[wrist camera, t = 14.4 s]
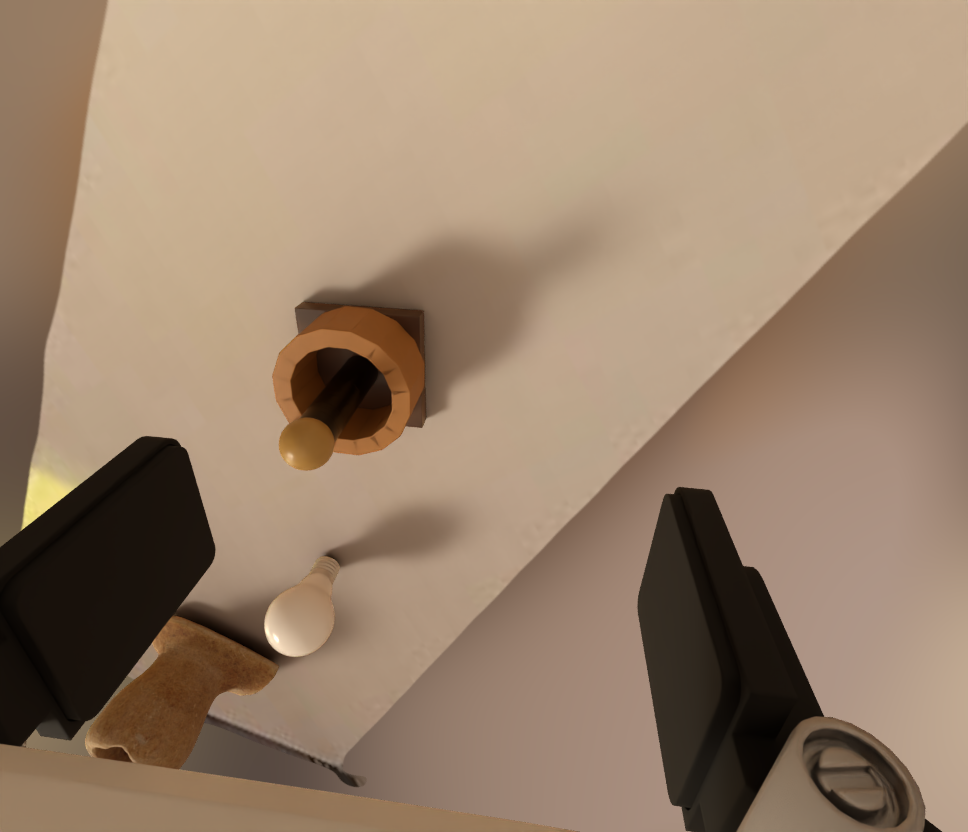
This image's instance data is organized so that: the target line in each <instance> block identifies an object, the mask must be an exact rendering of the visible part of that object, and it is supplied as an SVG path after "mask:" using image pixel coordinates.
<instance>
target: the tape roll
mask: <svg viewBox="0 0 968 832" xmlns="http://www.w3.org/2000/svg"><path fill="white" fill-rule="evenodd" d="M326 347H332V348H342V349H349V350H351V351H353V352H355V353H357V354H359V355H361V356H363V357H365V358H367V359H369V360H370V361H371V362H372V363H373V364H374V365H375V366H376V367H377V368H378V369H379V370H380V371H381V372H382V373H383V375H384V377H385V379H386V381H387V383H388V386H389V388H390V390H391V392H392V403H391V404H390V405H389V406H385V407H381V408H377V409H373V410H372V409H363V408H357V410H356V411H355V413H354V414H353V416H352V417H351V419H350V420H349V422H348V423H347V425H346V426H345V428H344V429H343V431H342V432H341V434H340V435H339V437H338V438H337V440H336V441H335V445H334V451H333V452H337V453H345V454H353V455H362V454H366V453H371V452H375V451H379V450H382V449H384V448H385V447H386V446H388V445H389V444H390V443H392V442H393V441H394V440H396V439H397V438H399V437H400V436H401V434H402V432H403V430H404V428H405V426H406V424H407V422H408V420H409V418H410V416H411V414H412V411H413V409H414V407H415V405H416V403H417V401H418V399H419V397H420V395H421V392H422V390H423V388H424V366H425V364H424V361H423V359H422V356H421V354H420V352H419V349H418V347H417V344H416V342H415V340H414V339H413V338H412V337H411V336H410V335H409V334H408V333H407V332H406V331H405V330H404V329H403V327H402V326H401V325H400V324H399V323H398V322H397V321H395V320H393V319H391V318H389V317H387V316H385V315H383V314H381V313H379V312H377V311H375V310H373V309H369V308H359V307H350V306H344V307H341V308H338V309H335V310H331V311H328V312H325V313H323V314H321V315H320V316H319V317H318V318H317V319H316V320H314V321H313V322H312V323H311V324H310V325H309V326H308V327H306V328H305V329H304V330H303V331H302V332H301V333H300V334H298V335H297V336H296V337H295V338H294V339H293V340H292V341H291V342H290V343H289V344H288V345H287V346H286V347H285V348H284V349H283V350H282V351H281V352H280V353H279V356H278V359H277V362H276V365H275V369H274V372H273V376H272V378H273V384H274V391H275V398H276V401H277V403H278V405H279V406H280V408H281V410H282V412H283V413H284V415H285V417H286V419H287V420H288V422H289V424H290V423H291V422H293V421H294V420H297V419H299V418H300V417H301V416H302V414H303V413H304V412H305V411H306V410H307V408H308V407H309V406H310V405H311V404H312V402H313V401H314V400H315V399H316V398H317V396H318V395H319V394H320V393H321V392H322V390H323V389H324V388H325V387H326V386H325V384H324V382H323V380H322V379H321V377H320V375H319V373H318V367H317V357H316V354H317V351H318V350H320V349H323V348H326Z"/></svg>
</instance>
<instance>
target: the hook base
mask: <svg viewBox="0 0 968 832" xmlns="http://www.w3.org/2000/svg"><path fill="white" fill-rule="evenodd" d="M344 306H350V307H359V308H369V309H373V310H375V311H377V312H379V313H381V314H383V315H385V316H387V317H389V318H391V319H393V320H395V321H397V322H398V323H399V324H400V325H401V326H402V327H403V329H404V330H405V331H406V332H407V333H408V334H409V335H410V336H411V337H412V338H413V339H414V340H415V342H416V344H417V347H418V349H419V352H420V354H421V356H422V359H423V361H424V364H425V344H424V311H421V310H407V309H393V308H380V307H366V306H352V305H338V304H324V303H310V302H302V303H301V304H300V305H298V306H297V307H296V308H295V314H296V320H297V327H298V334H300V333H301V332H302V331H303V330H304V329H305V328H306V327H308V326H309V325H310V324H311V323H312V322H313V321H314V320H316V319H317V318H318V317H319V316H320V315H321V314H323V313H325V312H328V311H331V310H335V309H338V308H341V307H344ZM357 355H359V354H357V353H355V352H353V351H351V350H349V349H342V348H332V347H326V348H323V349H320V350H318V351H317V354H316V357H317V367H318V373H319V375H320V377H321V379H322V380H323V382H324V384H325V386H327V384H328V383H329V382H330V381H331V379H332V378H333V377H334V376H335V375H336V373H337V372H338V371H339V370H340V369H341V367H342V366H343V365H344V364H345V363H346V361H347V360H348V359H349V358H351V357H353V356H357ZM360 356H361V355H360ZM377 370H378V377H377V379H376V381H375V383H374V384H373V386H372V387H371V389H370V390H369V392H368V393H367V395H366V396H365V398H364V399H363V401H362V402H361V404H360V405H359V407H358V408H363V409H372V410H373V409H377V408H381V407H385V406H389V405H390V404H391V403H392V392H391V390H390V388H389V386H388V383H387V381H386V379H385V377H384V375H383V373H382V372H381V371H380V370H379V369H378V368H377ZM425 420H426V389H425V366H424V388H423V390H422V392H421V395H420V397H419V399H418V401H417V403H416V405H415V407H414V409H413V411H412V414H411V416H410V418H409V420H408V422H407V424H406V426H408V427H419V428H422V427H423V425H424V423H425Z"/></svg>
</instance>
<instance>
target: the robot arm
mask: <svg viewBox="0 0 968 832" xmlns="http://www.w3.org/2000/svg"><path fill="white" fill-rule="evenodd" d="M214 556H215V544H214V541H213V537H212V534H211V531H210V527H209V524H208V520H207V517H206V513H205V510H204V507H203V503H202V500H201V496H200V493H199V489H198V486H197V483H196V479H195V476H194V472H193V469H192V465H191V462H190V459H189V455H188V452H187V450H186V449H185V448H183V447H181V445H180V443H179V442H178V441H177V440H175V439H172V438H161V437H151V436H144V437H141V438H139V439H137V440H136V441H135V442H134V443H132V444H131V445H130V446H128V447H127V448H126V449H125V450H123V451H122V452H121V453H120V454H118V455H117V456H116V457H114V458H113V459H112V460H111V461H109V462H108V463H107V464H106V465H104V466H103V467H102V468H100V469H99V470H98V471H97V472H95V473H94V474H93V475H92V476H90V477H89V478H88V479H86V480H85V481H84V482H83V483H81V484H80V485H79V486H78V487H76V488H75V489H74V490H72V491H71V492H70V493H69V494H67V495H66V496H65V497H64V498H62V499H61V500H60V501H58V502H57V503H56V504H55V505H53V506H52V507H51V508H50V509H48V510H47V511H46V512H45V513H43V514H42V515H41V516H39V517H38V518H37V519H36V520H34V521H33V522H32V523H31V524H29V525H28V526H27V527H25V528H24V529H23V530H22V531H20V532H19V533H18V534H17V535H15V536H14V537H13V538H12V539H10V540H9V541H8V542H6V543H5V544H4V545H3V546H1V547H0V832H578V831H572V830H566V829H560V828H555V827H549V826H543V825H538V824H532V823H526V822H520V821H515V820H508V819H501V818H495V817H488V816H482V815H476V814H469V813H462V812H456V811H450V810H443V809H436V808H430V807H423V806H418V805H410V804H405V803H398V802H392V801H385V800H378V799H372V798H366V797H359V796H353V795H346V794H340V793H333V792H325V791H319V790H312V789H306V788H299V787H292V786H286V785H279V784H273V783H266V782H259V781H253V780H245V779H239V778H232V777H225V776H219V775H212V774H205V773H198V772H192V771H185V770H178V769H172V768H165V767H158V766H151V765H144V764H137V763H130V762H123V761H116V760H109V759H102V758H95V757H88V756H81V755H74V754H67V753H60V752H53V751H46V750H39V749H32V748H26V740H27V739H28V737H29V736H30V735H31V734H32V733H33V731H34V730H35V729H36V730H37V731H38V733H39V734H40V736H44V737H51V738H57V739H65V740H72V738H73V737H74V735H75V734H76V733H77V732H78V730H79V729H80V728H81V726H82V725H83V724H84V722H85V721H88V720H91V719H92V718H93V717H95V716H96V715H97V714H98V713H99V712H100V710H101V709H102V708H103V707H104V705H105V704H106V703H107V701H108V700H109V699H110V697H111V696H112V695H113V693H114V692H115V691H116V689H117V688H118V687H119V686H120V684H121V683H122V682H123V680H124V679H125V678H126V676H127V675H128V674H129V672H130V671H131V670H132V668H133V667H134V666H135V664H136V663H137V662H138V660H139V659H140V658H141V657H142V655H143V654H144V653H145V651H146V650H147V649H148V647H149V646H150V645H151V643H152V642H153V641H154V639H155V638H156V637H157V635H158V634H159V633H160V631H161V630H162V629H163V627H164V626H165V625H166V623H167V622H168V621H169V620H170V618H171V617H172V616H173V614H174V613H175V612H176V610H177V609H178V608H179V606H180V605H181V604H182V602H183V601H184V600H185V598H186V597H187V596H188V594H189V593H190V592H191V590H192V589H193V588H194V587H195V585H196V584H197V583H198V581H199V580H200V579H201V577H202V576H203V575H204V573H205V572H206V571H207V569H208V568H209V567H210V565H211V564H212V562H213V559H214ZM638 616H639V622H640V628H641V634H642V640H643V646H644V652H645V658H646V664H647V670H648V676H649V682H650V688H651V694H652V699H653V706H654V712H655V718H656V723H657V730H658V736H659V742H660V748H661V754H662V759H663V766H664V772H665V778H666V784H667V790H668V795H669V799H670V802H671V803H672V805H674V806H681V807H682V812H683V817H684V822H685V828H686V831H691V832H942V831H940V830H939V829H938V828H936V827H935V826H934V825H933V824H931V823H930V822H929V821H928V820H926V819H925V805H924V802H923V799H922V795H921V792H920V790H919V787H918V785H917V784H916V782H915V781H914V779H913V777H912V775H911V774H910V772H909V771H908V769H907V768H906V766H905V765H904V764H903V763H902V762H901V761H900V760H899V759H898V757H897V756H896V755H895V754H894V753H893V752H892V751H891V750H890V749H889V748H888V747H887V746H885V745H884V744H883V743H882V742H880V741H879V740H878V739H876V738H875V737H874V736H873V735H871V734H870V733H868V732H866V731H864V730H862V729H861V728H859V727H857V726H855V725H853V724H851V723H848V722H845V721H842V720H839V719H836V718H833V717H824V715H823V713H822V711H821V708H820V706H819V704H818V702H817V700H816V697H815V695H814V693H813V691H812V689H811V686H810V684H809V682H808V679H807V677H806V675H805V673H804V670H803V668H802V666H801V664H800V662H799V659H798V657H797V655H796V652H795V650H794V648H793V646H792V644H791V641H790V639H789V637H788V635H787V632H786V630H785V628H784V626H783V623H782V621H781V619H780V617H779V614H778V612H777V610H776V608H775V605H774V603H773V601H772V599H771V596H770V594H769V592H768V590H767V587H766V585H765V583H764V581H763V579H762V577H761V575H760V574H759V572H758V571H757V570H756V569H755V568H754V567H746V566H743V565H742V563H741V560H740V558H739V555H738V553H737V550H736V548H735V546H734V543H733V541H732V539H731V536H730V534H729V532H728V529H727V526H726V524H725V522H724V519H723V517H722V514H721V512H720V510H719V507H718V505H717V503H716V500H715V498H714V495H713V494H712V492H711V491H710V490H704V489H694V488H684V487H678V488H677V489H676V490H675V493H674V494H666V495H665V496H664V499H663V502H662V506H661V509H660V513H659V517H658V521H657V525H656V529H655V533H654V537H653V540H652V544H651V549H650V553H649V556H648V560H647V564H646V568H645V572H644V575H643V579H642V583H641V587H640V591H639V595H638Z"/></svg>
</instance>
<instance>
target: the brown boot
mask: <svg viewBox="0 0 968 832" xmlns="http://www.w3.org/2000/svg"><path fill="white" fill-rule="evenodd" d="M153 645H154V648H155V650H156V651H157V653H158V654H159V656H158V658H157V659H156V660H155V662H154V663H153V664H152V665H151V666H150V667H149V668H148V669H147V670H146V671H145V672H144V673H143V674H142V675H140V676H139V677H137V678H136V679H135V680H133V681H132V682H131V683H130V684H129V685H127V686H126V687H125V688H124V689H122V690H121V691H120V692H119V693H118V694H117V695H116V696H115V697H114V698H113V699H112V700H111V701H110V703H109V704H108V705H107V706H106V708H105V709H104V710H103V711H102V712H101V714H100V715H99V716H98V717H97V718H96V720H95V721H94V723H93V724H92V725H91V727H90V729H89V731H88V732H87V735H86V739H85V745H86V748H87V750H88V752H89V753H90V755H91V756H92V757H95V758H102V759H109V760H116V761H123V762H130V763H137V764H144V765H151V766H158V767H165V768H172V769H178V770H179V769H180V767H181V766H182V765H183V764H184V762H185V761H186V759H187V758H188V756H189V755H190V753H191V752H192V749H193V747H194V745H195V743H196V741H197V738H198V736H199V734H200V731H201V729H202V726H203V724H204V721H205V718H206V716H207V713H208V711H209V709H210V706H211V704H212V703H213V701H214V699H215V698H216V697H217V696H218V695H219V694H221V693H223V692H226V691H228V692H232V693H235V694H238V695H242V696H244V695H246V694H248V695H251V694H255V693H257V692H258V691H260V690H262V689H263V688H264V687H265V686H266V685H267V684H268V683H269V682H270V681H271V680H272V679H273V678H274V676H275V675H276V672H277V670H278V668H279V666H278V665H277V664H275V663H274V662H272V661H270V660H268V659H266V658H265V657H263V656H261V655H259V654H257V653H255V652H254V651H252V650H250V649H248V648H247V647H245V646H243V645H241V644H239V643H237V642H235V641H233V640H231V639H229V638H227V637H225V636H223V635H221V634H219V633H216V632H214V631H212V630H210V629H208V628H206V627H204V626H202V625H199V624H197V623H194V622H192V621H190V620H187V619H185V618H182V617H178V616H172V617H171V618H170V620H169V621H168V622H167V623H166V625H165V626H164V627H163V629H162V630H161V631H160V633H159V634H158V635H157V637H156V638H155V639H154V641H153Z"/></svg>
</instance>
